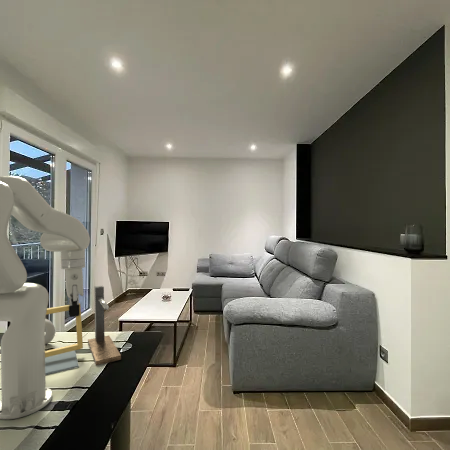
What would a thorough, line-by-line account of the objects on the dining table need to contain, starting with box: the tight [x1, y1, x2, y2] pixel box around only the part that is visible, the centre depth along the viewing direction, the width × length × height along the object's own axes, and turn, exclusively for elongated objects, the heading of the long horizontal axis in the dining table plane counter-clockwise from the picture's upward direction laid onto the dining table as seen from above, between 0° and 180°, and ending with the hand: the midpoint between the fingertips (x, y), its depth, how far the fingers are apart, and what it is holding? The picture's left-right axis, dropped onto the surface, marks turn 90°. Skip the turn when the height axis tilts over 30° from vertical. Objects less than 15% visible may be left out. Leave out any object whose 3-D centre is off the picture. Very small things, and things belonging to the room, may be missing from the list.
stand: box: [87, 285, 122, 366], centre depth 109 cm, size 22×8×22 cm, turn 31°
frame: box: [45, 302, 84, 358], centre depth 102 cm, size 2×14×16 cm, turn 121°
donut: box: [45, 318, 56, 345], centre depth 117 cm, size 10×3×10 cm, turn 76°
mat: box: [45, 350, 79, 376], centre depth 102 cm, size 18×12×1 cm, turn 31°
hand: (74, 315), depth 105 cm, fingers closed on frame, 1 cm apart
